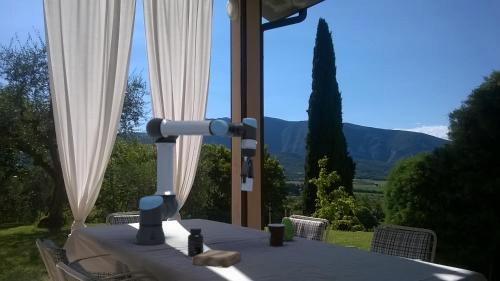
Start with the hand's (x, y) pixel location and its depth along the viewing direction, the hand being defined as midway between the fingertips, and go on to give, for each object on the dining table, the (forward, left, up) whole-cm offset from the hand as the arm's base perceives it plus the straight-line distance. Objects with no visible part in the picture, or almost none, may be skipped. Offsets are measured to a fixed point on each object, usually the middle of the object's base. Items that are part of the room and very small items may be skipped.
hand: (246, 190), depth 219 cm
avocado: (+16, +21, -27) cm, 38 cm away
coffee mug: (+14, +7, -27) cm, 31 cm away
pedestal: (+2, -40, -27) cm, 48 cm away
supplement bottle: (-12, -32, -27) cm, 44 cm away
